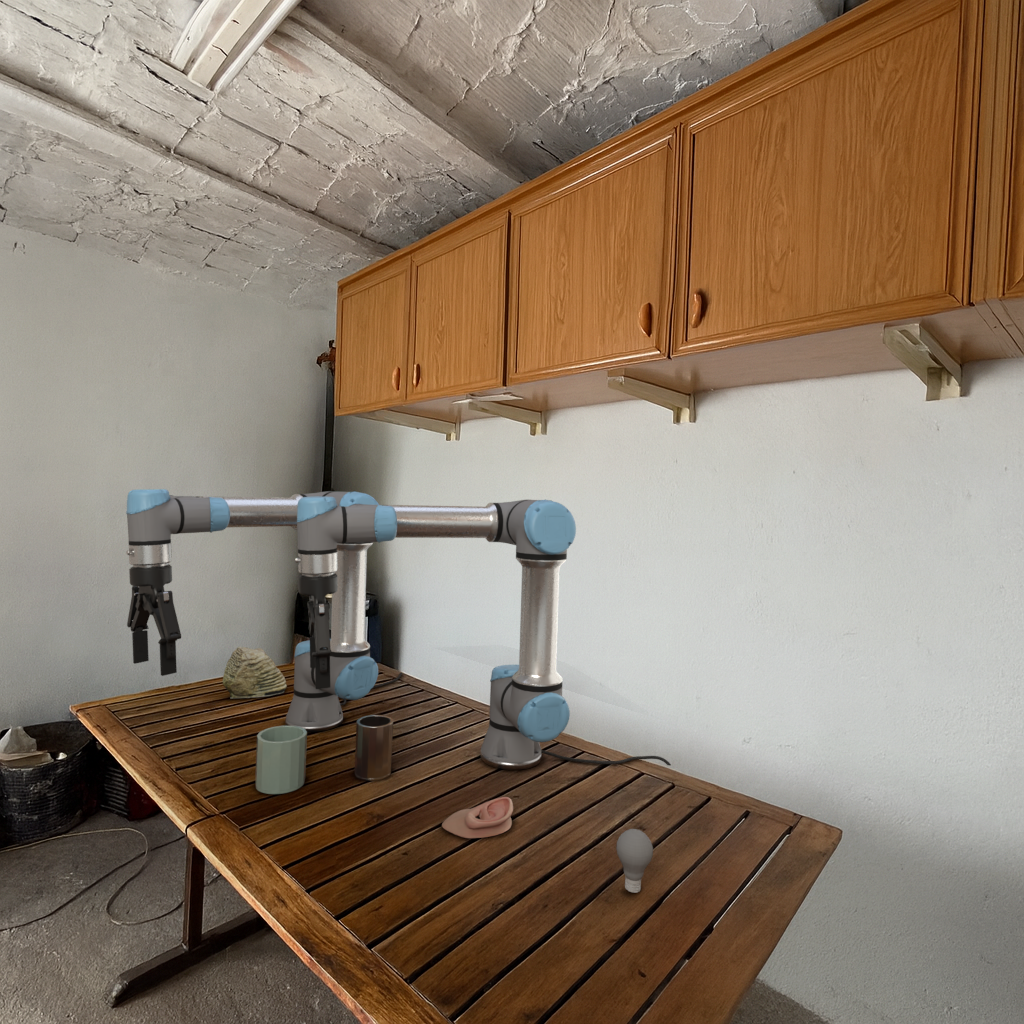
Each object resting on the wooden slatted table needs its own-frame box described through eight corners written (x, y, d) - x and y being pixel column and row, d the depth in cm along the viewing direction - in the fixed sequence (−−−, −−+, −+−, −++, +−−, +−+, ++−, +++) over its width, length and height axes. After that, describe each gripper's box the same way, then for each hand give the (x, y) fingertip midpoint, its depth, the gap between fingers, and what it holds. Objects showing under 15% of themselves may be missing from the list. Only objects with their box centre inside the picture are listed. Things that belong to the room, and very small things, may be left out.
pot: (288, 769, 146) (290, 722, 146) (314, 783, 140) (315, 733, 140) (246, 783, 138) (248, 733, 138) (271, 798, 132) (273, 746, 132)
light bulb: (610, 879, 108) (613, 822, 108) (644, 879, 109) (647, 822, 109) (619, 902, 102) (622, 840, 102) (655, 901, 103) (658, 840, 103)
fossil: (218, 695, 195) (220, 647, 195) (278, 685, 208) (279, 640, 207) (228, 703, 189) (230, 653, 188) (289, 692, 201) (290, 645, 201)
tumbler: (375, 762, 152) (377, 712, 152) (398, 773, 147) (400, 721, 147) (347, 773, 146) (349, 720, 145) (370, 784, 140) (372, 730, 140)
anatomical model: (437, 813, 121) (454, 787, 132) (436, 833, 121) (454, 805, 132) (505, 823, 118) (517, 795, 129) (504, 844, 118) (516, 815, 129)
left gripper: (107, 562, 134) (111, 661, 135) (156, 572, 118) (160, 684, 119) (145, 558, 140) (149, 653, 141) (197, 567, 124) (201, 674, 125)
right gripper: (294, 565, 137) (296, 660, 139) (302, 586, 114) (304, 700, 116) (330, 563, 140) (332, 657, 142) (345, 583, 117) (346, 695, 119)
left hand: (154, 668), depth 130 cm, fingers open, 13 cm apart
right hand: (319, 676), depth 129 cm, fingers open, 13 cm apart
